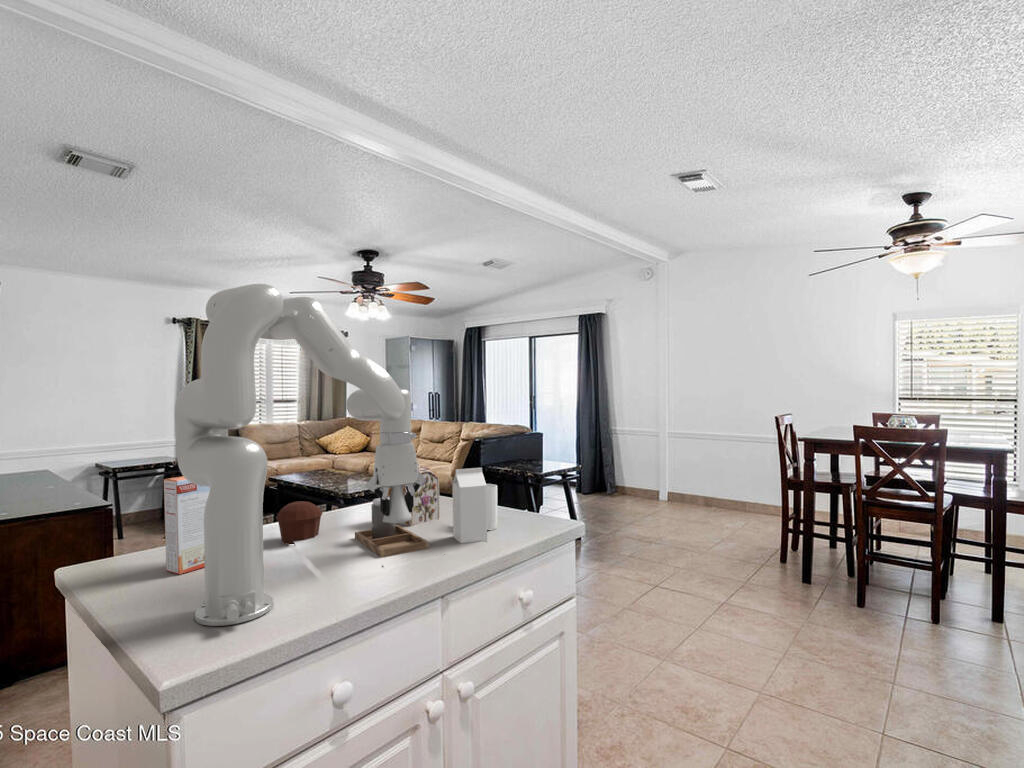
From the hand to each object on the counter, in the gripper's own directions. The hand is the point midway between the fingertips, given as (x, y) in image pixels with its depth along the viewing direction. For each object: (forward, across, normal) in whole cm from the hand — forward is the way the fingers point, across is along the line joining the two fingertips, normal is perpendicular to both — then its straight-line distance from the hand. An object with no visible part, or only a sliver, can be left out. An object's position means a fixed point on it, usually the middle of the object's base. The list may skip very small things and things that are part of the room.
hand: (397, 512), depth 133 cm
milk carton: (+10, -18, +3) cm, 21 cm away
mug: (+10, -28, -8) cm, 31 cm away
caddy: (+10, 0, -5) cm, 11 cm away
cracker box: (+10, +41, -18) cm, 45 cm away
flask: (+2, 0, 0) cm, 2 cm away
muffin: (+10, +18, -26) cm, 33 cm away
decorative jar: (+10, -14, -25) cm, 30 cm away
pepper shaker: (+9, 0, -10) cm, 13 cm away
